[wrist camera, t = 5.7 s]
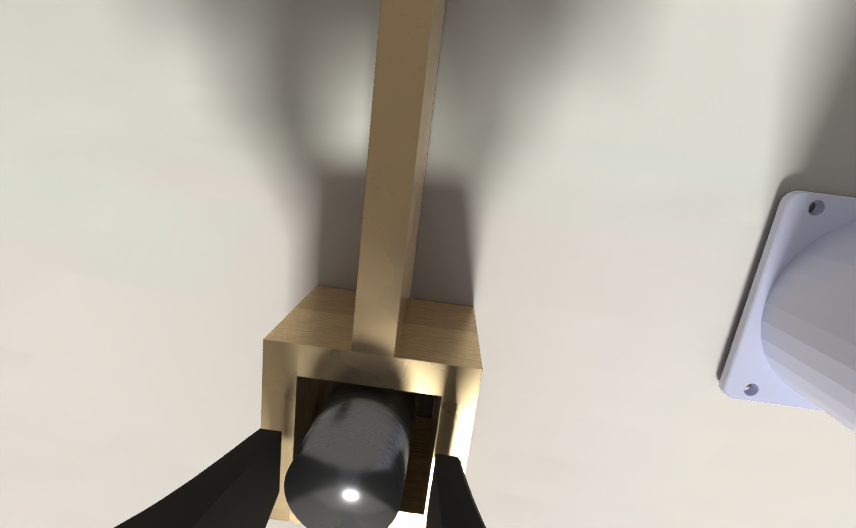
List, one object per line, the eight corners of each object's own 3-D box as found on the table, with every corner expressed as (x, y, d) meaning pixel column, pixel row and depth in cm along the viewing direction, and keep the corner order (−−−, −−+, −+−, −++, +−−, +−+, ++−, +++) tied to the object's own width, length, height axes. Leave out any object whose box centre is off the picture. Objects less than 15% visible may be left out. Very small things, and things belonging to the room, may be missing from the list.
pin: (422, 397, 18) (398, 548, 11) (351, 390, 18) (285, 535, 11) (426, 331, 17) (403, 449, 10) (352, 324, 17) (282, 437, 11)
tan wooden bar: (524, -10, 14) (563, -94, 9) (421, 631, 21) (412, 773, 16) (336, -32, 14) (275, -128, 9) (297, 612, 21) (252, 748, 16)
